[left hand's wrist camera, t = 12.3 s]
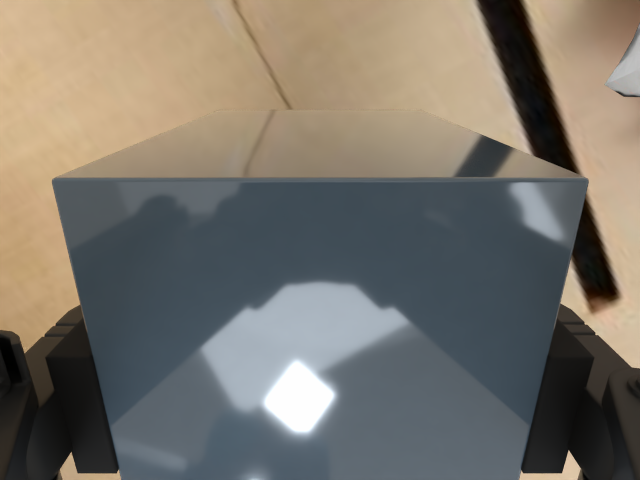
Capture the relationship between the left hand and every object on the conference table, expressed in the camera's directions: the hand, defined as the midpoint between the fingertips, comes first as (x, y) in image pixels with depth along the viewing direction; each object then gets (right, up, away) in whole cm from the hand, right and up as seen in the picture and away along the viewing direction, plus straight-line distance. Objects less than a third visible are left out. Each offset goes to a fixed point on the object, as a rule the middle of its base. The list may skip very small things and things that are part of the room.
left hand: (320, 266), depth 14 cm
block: (0, +2, +4) cm, 5 cm away
